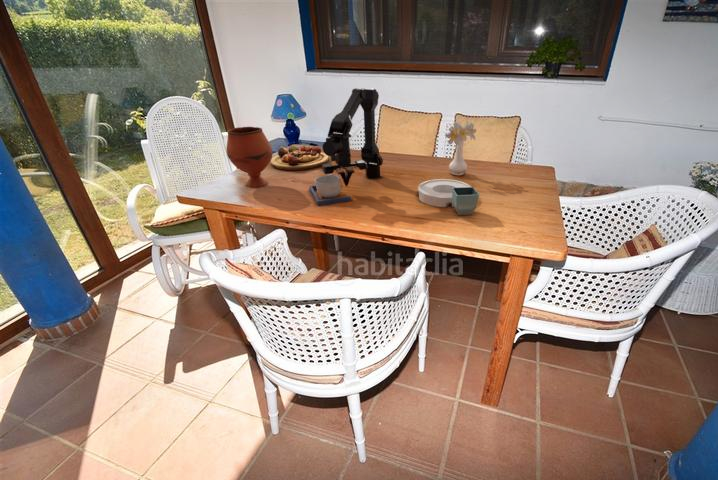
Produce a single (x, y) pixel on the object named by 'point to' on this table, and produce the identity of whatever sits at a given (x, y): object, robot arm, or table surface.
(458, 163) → the flower vase
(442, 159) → the table surface
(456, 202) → the flower pot
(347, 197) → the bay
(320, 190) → the teacup
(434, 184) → the ashtray
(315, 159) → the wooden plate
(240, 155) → the goblet
